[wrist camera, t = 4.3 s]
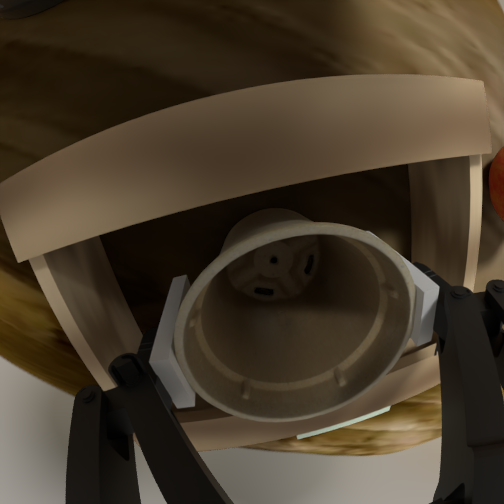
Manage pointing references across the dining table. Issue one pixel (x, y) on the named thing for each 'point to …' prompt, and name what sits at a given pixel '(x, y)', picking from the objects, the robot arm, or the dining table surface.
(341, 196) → the dining table surface
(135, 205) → the crate
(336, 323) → the flower pot
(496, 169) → the fruit
